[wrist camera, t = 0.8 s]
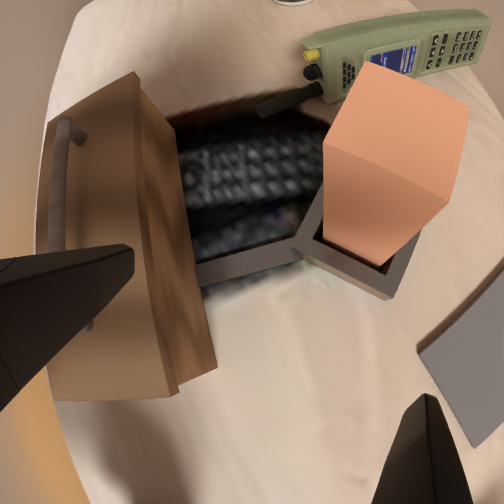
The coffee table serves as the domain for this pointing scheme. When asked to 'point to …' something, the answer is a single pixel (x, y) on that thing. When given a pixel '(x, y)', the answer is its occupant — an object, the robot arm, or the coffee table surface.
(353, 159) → the salmon orange rectangular block
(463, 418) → the charcoal mat
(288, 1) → the supplement bottle
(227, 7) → the coffee table surface
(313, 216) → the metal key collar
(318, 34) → the handheld radio
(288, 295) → the coffee table surface
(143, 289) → the walnut toolbox
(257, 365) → the coffee table surface
